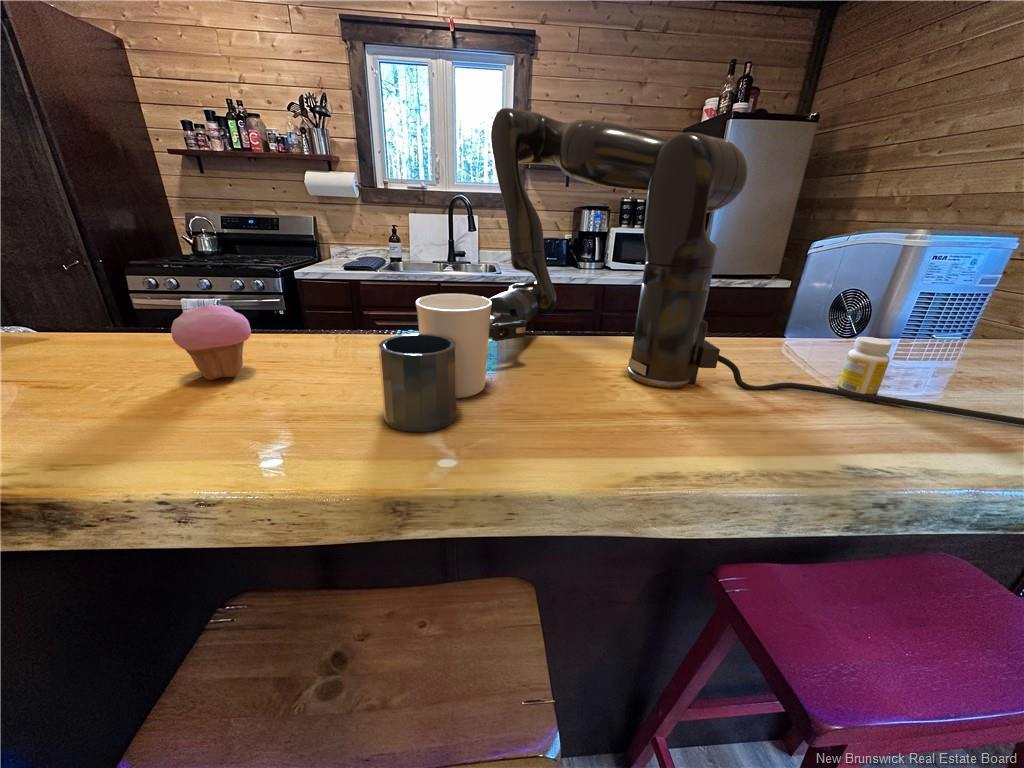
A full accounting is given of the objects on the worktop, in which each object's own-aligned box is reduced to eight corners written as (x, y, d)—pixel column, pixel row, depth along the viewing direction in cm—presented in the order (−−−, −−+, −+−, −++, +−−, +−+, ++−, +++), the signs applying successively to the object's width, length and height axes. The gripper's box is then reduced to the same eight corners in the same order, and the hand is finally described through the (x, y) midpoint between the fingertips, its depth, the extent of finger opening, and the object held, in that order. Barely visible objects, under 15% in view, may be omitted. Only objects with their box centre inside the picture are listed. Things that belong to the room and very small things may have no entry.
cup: (458, 402, 56) (458, 334, 53) (452, 433, 48) (452, 356, 45) (393, 400, 56) (388, 332, 53) (376, 431, 48) (370, 354, 45)
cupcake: (255, 362, 67) (243, 297, 63) (261, 380, 60) (248, 309, 56) (184, 371, 62) (166, 301, 58) (182, 392, 56) (162, 315, 52)
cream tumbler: (494, 375, 65) (496, 295, 60) (484, 403, 56) (485, 312, 51) (430, 370, 66) (427, 291, 61) (410, 398, 57) (404, 307, 52)
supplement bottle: (870, 392, 66) (890, 339, 63) (879, 403, 62) (901, 347, 59) (832, 386, 68) (850, 334, 64) (839, 397, 64) (858, 341, 60)
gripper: (472, 289, 78) (425, 307, 63) (543, 296, 75) (511, 317, 59) (471, 330, 81) (426, 356, 66) (540, 339, 77) (509, 369, 62)
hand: (467, 338), depth 62 cm, fingers closed
